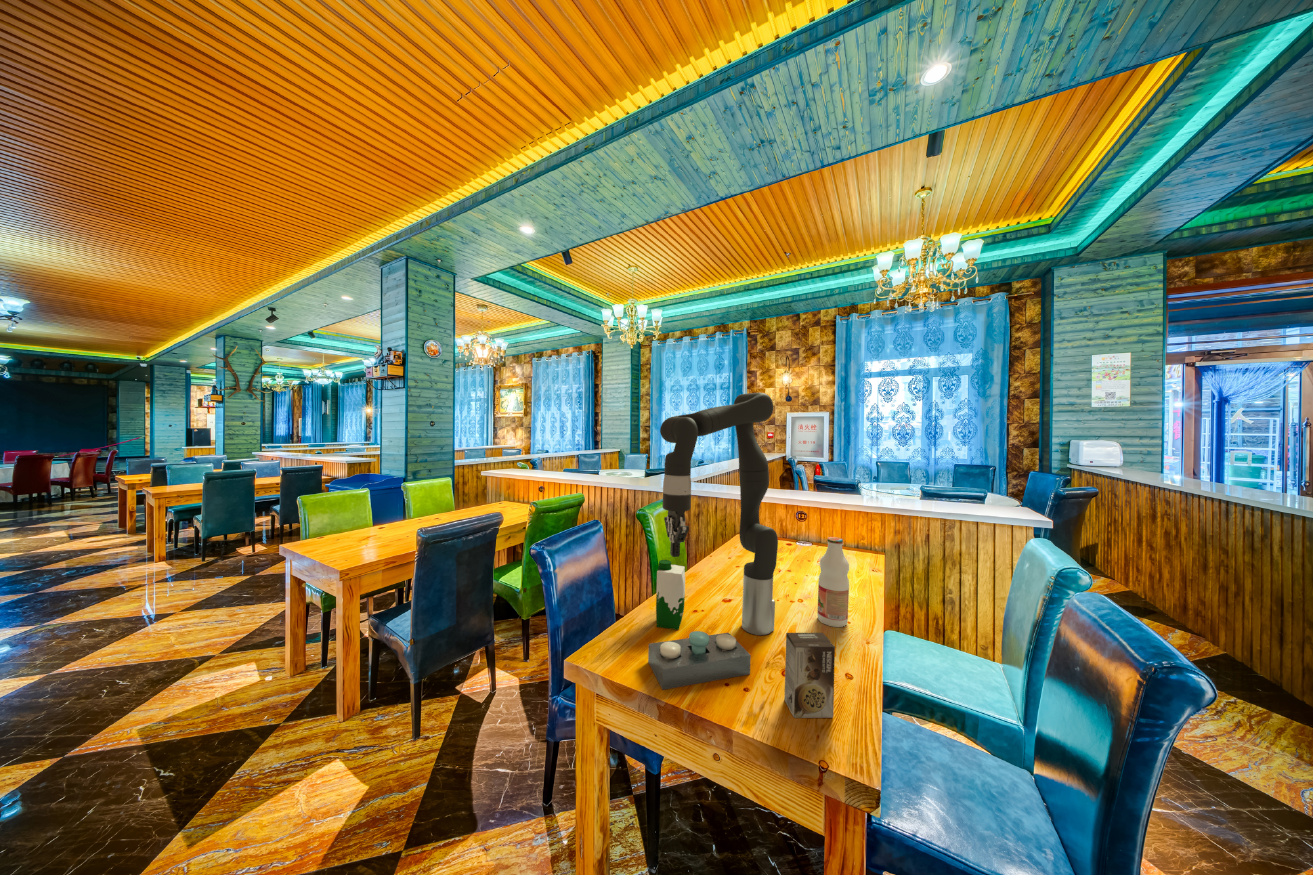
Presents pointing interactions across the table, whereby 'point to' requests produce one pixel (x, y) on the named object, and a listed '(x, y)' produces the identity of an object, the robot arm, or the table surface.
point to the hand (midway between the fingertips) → (674, 555)
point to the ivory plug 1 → (670, 650)
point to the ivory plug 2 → (725, 642)
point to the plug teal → (698, 642)
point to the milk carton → (670, 595)
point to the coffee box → (809, 675)
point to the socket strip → (698, 664)
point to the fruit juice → (833, 585)
